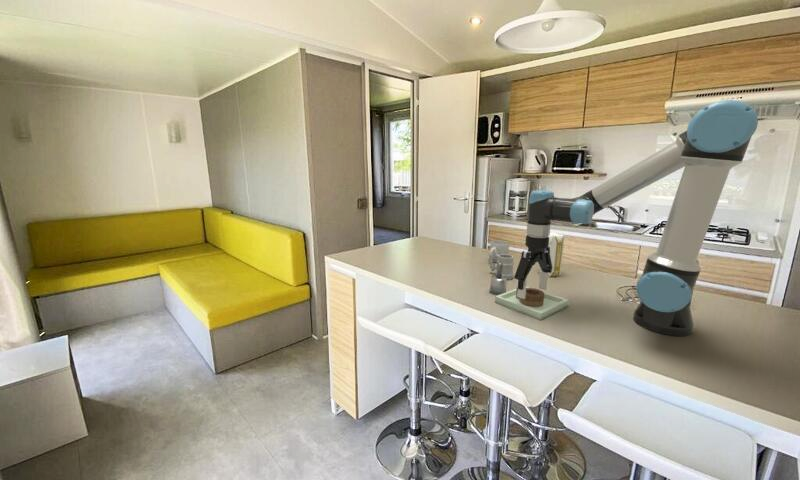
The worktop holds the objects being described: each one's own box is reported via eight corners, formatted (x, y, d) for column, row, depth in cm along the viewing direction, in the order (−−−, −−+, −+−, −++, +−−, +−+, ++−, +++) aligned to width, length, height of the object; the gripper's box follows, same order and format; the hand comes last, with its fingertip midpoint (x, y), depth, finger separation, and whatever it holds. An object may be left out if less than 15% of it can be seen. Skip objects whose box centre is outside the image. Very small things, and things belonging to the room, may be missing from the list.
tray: (568, 306, 122) (568, 300, 121) (540, 320, 111) (541, 313, 111) (523, 291, 136) (523, 285, 135) (495, 302, 125) (495, 296, 124)
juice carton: (549, 270, 161) (553, 231, 157) (562, 276, 153) (567, 235, 149) (536, 272, 159) (539, 232, 154) (549, 278, 151) (553, 236, 147)
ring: (547, 303, 122) (548, 292, 122) (535, 308, 118) (536, 298, 117) (523, 294, 130) (524, 284, 129) (510, 299, 125) (511, 289, 124)
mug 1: (495, 257, 183) (496, 239, 180) (510, 261, 176) (512, 242, 174) (482, 262, 174) (483, 243, 172) (497, 266, 168) (498, 246, 165)
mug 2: (506, 281, 147) (508, 254, 144) (484, 274, 156) (485, 249, 153) (516, 277, 151) (518, 251, 149) (494, 271, 160) (496, 246, 158)
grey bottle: (508, 292, 134) (511, 263, 131) (499, 296, 130) (501, 266, 128) (496, 288, 139) (498, 260, 136) (486, 291, 135) (488, 262, 132)
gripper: (546, 229, 128) (541, 282, 133) (506, 238, 113) (501, 298, 118) (566, 232, 122) (560, 288, 127) (526, 242, 107) (521, 305, 112)
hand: (532, 293), depth 122 cm, fingers open, 13 cm apart
